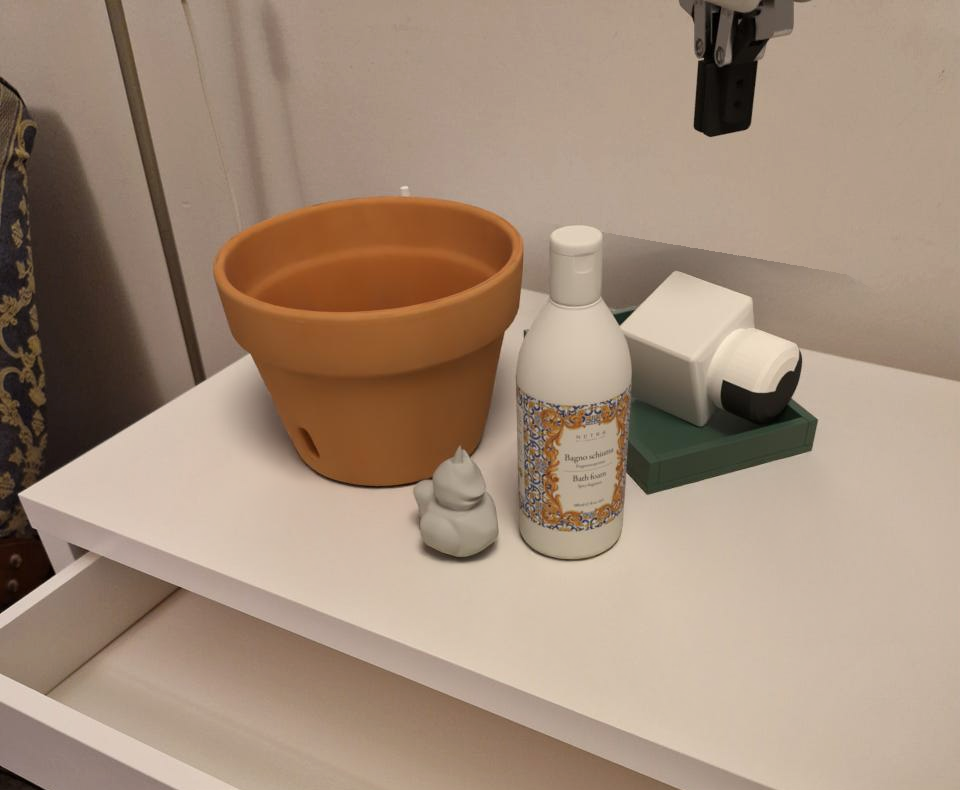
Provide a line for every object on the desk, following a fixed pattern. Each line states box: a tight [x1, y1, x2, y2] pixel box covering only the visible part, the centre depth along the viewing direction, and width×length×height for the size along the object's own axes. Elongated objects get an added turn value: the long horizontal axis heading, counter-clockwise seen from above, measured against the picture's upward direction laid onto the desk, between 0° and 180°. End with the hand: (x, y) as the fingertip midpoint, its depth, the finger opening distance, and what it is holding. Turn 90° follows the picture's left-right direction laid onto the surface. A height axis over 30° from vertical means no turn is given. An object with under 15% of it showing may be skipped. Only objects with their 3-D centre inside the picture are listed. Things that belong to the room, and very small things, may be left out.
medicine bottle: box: [620, 270, 803, 427], centre depth 74 cm, size 7×7×12 cm
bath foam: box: [515, 224, 632, 560], centre depth 61 cm, size 7×7×20 cm
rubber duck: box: [412, 446, 500, 558], centre depth 65 cm, size 5×7×8 cm
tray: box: [523, 304, 819, 495], centre depth 79 cm, size 14×23×3 cm, turn 21°
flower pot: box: [212, 195, 525, 487], centre depth 73 cm, size 21×21×15 cm
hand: (721, 129), depth 63 cm, fingers closed
